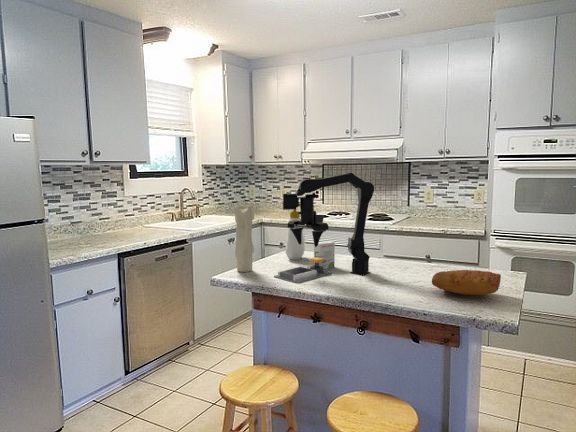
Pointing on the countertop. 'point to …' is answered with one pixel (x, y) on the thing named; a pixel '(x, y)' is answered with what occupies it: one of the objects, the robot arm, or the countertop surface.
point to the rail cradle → (302, 274)
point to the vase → (244, 237)
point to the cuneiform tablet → (467, 281)
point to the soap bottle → (294, 240)
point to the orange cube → (316, 260)
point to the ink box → (325, 254)
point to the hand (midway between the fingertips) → (307, 245)
